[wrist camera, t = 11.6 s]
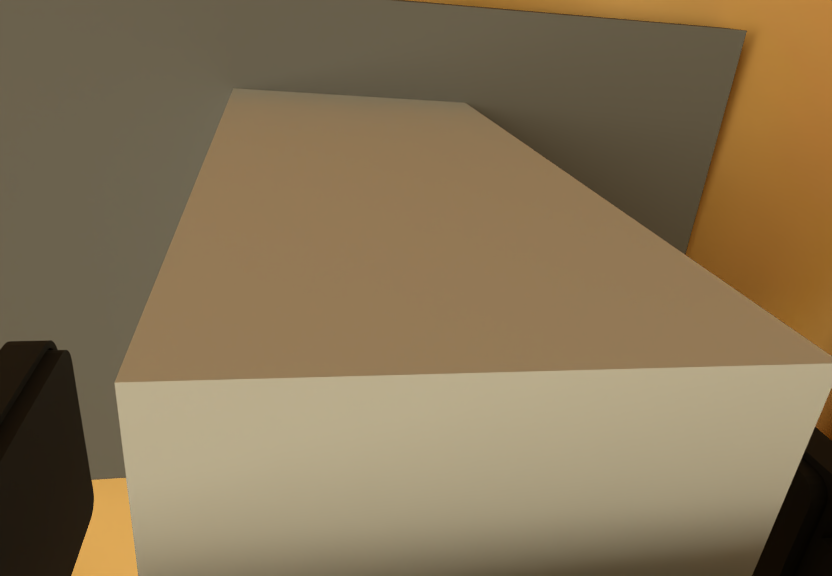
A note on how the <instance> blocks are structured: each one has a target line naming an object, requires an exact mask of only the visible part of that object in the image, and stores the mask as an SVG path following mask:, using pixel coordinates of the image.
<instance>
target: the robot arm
mask: <svg viewBox="0 0 832 576" xmlns="http://www.w3.org/2000/svg"><path fill="white" fill-rule="evenodd" d="M93 503H94V495H93V487H92V481H91V474H90V468H89V462H88V456H87V450H86V444H85V438H84V431H83V425H82V419H81V413H80V407H79V401H78V395H77V388H76V382H75V376H74V370H73V364H72V359H71V355H70V353H69V351H68V350H57V347H56V345H55V343H54V342H53V341H52V340H48V341H9V342H6V343H5V344H4V345H3V347H2V348H1V349H0V576H71V574H72V572H73V569H74V566H75V563H76V560H77V557H78V554H79V551H80V548H81V546H82V543H83V540H84V537H85V534H86V531H87V528H88V525H89V522H90V520H91V516H92V511H93ZM752 576H832V441H831V440H830V439H829V438H828V437H827V436H825V435H824V434H823V433H822V432H821V431H819V430H818V429H817V428H816V427H815V428H814V430H813V433H812V435H811V437H810V440H809V442H808V444H807V447H806V449H805V451H804V454H803V456H802V459H801V461H800V463H799V466H798V468H797V470H796V473H795V475H794V477H793V480H792V482H791V485H790V487H789V489H788V492H787V494H786V496H785V499H784V501H783V503H782V506H781V508H780V511H779V513H778V515H777V518H776V520H775V522H774V525H773V527H772V529H771V532H770V534H769V537H768V539H767V541H766V544H765V546H764V548H763V551H762V553H761V555H760V558H759V560H758V563H757V565H756V567H755V570H754V572H753V574H752Z"/></svg>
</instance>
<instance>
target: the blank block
mask: <svg viewBox="0 0 832 576" xmlns="http://www.w3.org/2000/svg"><path fill="white" fill-rule="evenodd" d="M114 383H115V391H116V399H117V407H118V415H119V423H120V432H121V440H122V448H123V456H124V464H125V472H126V480H127V488H128V496H129V504H130V512H131V520H132V528H133V537H134V545H135V553H136V561H137V569H138V576H752V574H753V572H754V570H755V567H756V565H757V563H758V560H759V558H760V555H761V553H762V551H763V548H764V546H765V544H766V541H767V539H768V537H769V534H770V532H771V529H772V527H773V525H774V522H775V520H776V518H777V515H778V513H779V511H780V508H781V506H782V503H783V501H784V499H785V496H786V494H787V492H788V489H789V487H790V485H791V482H792V480H793V477H794V475H795V473H796V470H797V468H798V466H799V463H800V461H801V459H802V456H803V454H804V451H805V449H806V447H807V444H808V442H809V440H810V437H811V435H812V433H813V430H814V428H815V425H816V423H817V421H818V418H819V416H820V414H821V411H822V409H823V407H824V404H825V402H826V400H827V397H828V395H829V392H830V390H831V388H832V356H831V355H829V354H828V353H826V352H825V351H824V350H822V349H821V348H819V347H818V346H816V345H815V344H813V343H812V342H810V341H809V340H808V339H806V338H805V337H803V336H802V335H800V334H799V333H797V332H796V331H795V330H793V329H792V328H790V327H789V326H787V325H786V324H784V323H783V322H782V321H780V320H779V319H777V318H776V317H774V316H773V315H771V314H770V313H769V312H767V311H766V310H764V309H763V308H761V307H760V306H758V305H757V304H756V303H754V302H753V301H751V300H750V299H748V298H747V297H745V296H744V295H743V294H741V293H740V292H738V291H737V290H735V289H734V288H732V287H731V286H730V285H728V284H727V283H725V282H724V281H722V280H721V279H719V278H718V277H717V276H715V275H714V274H712V273H711V272H709V271H708V270H706V269H705V268H704V267H702V266H701V265H699V264H698V263H696V262H695V261H693V260H692V259H691V258H689V257H688V256H686V255H685V254H683V253H682V252H680V251H679V250H678V249H676V248H675V247H673V246H672V245H670V244H669V243H667V242H666V241H664V240H663V239H662V238H660V237H659V236H657V235H656V234H654V233H653V232H651V231H650V230H649V229H647V228H646V227H644V226H643V225H641V224H640V223H638V222H637V221H636V220H634V219H633V218H631V217H630V216H628V215H627V214H625V213H624V212H623V211H621V210H620V209H618V208H617V207H615V206H614V205H612V204H611V203H610V202H608V201H607V200H605V199H604V198H602V197H601V196H599V195H598V194H597V193H595V192H594V191H592V190H591V189H589V188H588V187H586V186H585V185H584V184H582V183H581V182H579V181H578V180H576V179H575V178H573V177H572V176H571V175H569V174H568V173H566V172H565V171H563V170H562V169H560V168H559V167H558V166H556V165H555V164H553V163H552V162H550V161H549V160H547V159H546V158H545V157H543V156H542V155H540V154H539V153H537V152H536V151H534V150H533V149H532V148H530V147H529V146H527V145H526V144H524V143H523V142H521V141H520V140H518V139H517V138H516V137H514V136H513V135H511V134H510V133H508V132H507V131H505V130H504V129H503V128H501V127H500V126H498V125H497V124H495V123H494V122H492V121H491V120H490V119H488V118H487V117H485V116H484V115H482V114H481V113H479V112H478V111H477V110H475V109H474V108H472V107H471V106H469V105H468V104H466V103H462V102H446V101H430V100H414V99H398V98H382V97H366V96H349V95H333V94H317V93H301V92H285V91H269V90H253V89H237V88H233V90H232V93H231V95H230V98H229V100H228V103H227V105H226V108H225V110H224V113H223V115H222V118H221V120H220V123H219V125H218V128H217V130H216V133H215V135H214V137H213V140H212V142H211V145H210V147H209V150H208V152H207V155H206V157H205V160H204V162H203V165H202V167H201V170H200V172H199V175H198V177H197V180H196V182H195V185H194V187H193V189H192V192H191V194H190V197H189V199H188V202H187V204H186V207H185V209H184V212H183V214H182V217H181V219H180V222H179V224H178V227H177V229H176V232H175V234H174V236H173V239H172V241H171V244H170V246H169V249H168V251H167V254H166V256H165V259H164V261H163V264H162V266H161V269H160V271H159V274H158V276H157V279H156V281H155V283H154V286H153V288H152V291H151V293H150V296H149V298H148V301H147V303H146V306H145V308H144V311H143V313H142V316H141V318H140V321H139V323H138V326H137V328H136V331H135V333H134V335H133V338H132V340H131V343H130V345H129V348H128V350H127V353H126V355H125V358H124V360H123V363H122V365H121V368H120V370H119V373H118V375H117V378H116V380H115V382H114Z"/></svg>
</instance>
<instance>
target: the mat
mask: <svg viewBox="0 0 832 576" xmlns="http://www.w3.org/2000/svg"><path fill="white" fill-rule="evenodd" d="M746 32H747V31H745V30H736V29H728V28H719V27H708V26H696V25H685V24H673V23H661V22H650V21H638V20H626V19H615V18H603V17H591V16H580V15H568V14H556V13H545V12H533V11H521V10H510V9H498V8H486V7H475V6H463V5H451V4H440V3H428V2H416V1H405V0H0V349H1V348H2V347H3V345H4V344H5V343H6V342H9V341H48V340H52V341H53V342H54V343H55V345H56V347H57V350H68V351H69V353H70V355H71V359H72V364H73V370H74V376H75V382H76V388H77V395H78V401H79V407H80V413H81V419H82V425H83V431H84V438H85V444H86V450H87V456H88V462H89V468H90V474H91V480H94V479H110V478H126V472H125V464H124V456H123V448H122V440H121V432H120V423H119V415H118V407H117V399H116V391H115V383H114V382H115V380H116V378H117V375H118V373H119V370H120V368H121V365H122V363H123V360H124V358H125V355H126V353H127V350H128V348H129V345H130V343H131V340H132V338H133V335H134V333H135V331H136V328H137V326H138V323H139V321H140V318H141V316H142V313H143V311H144V308H145V306H146V303H147V301H148V298H149V296H150V293H151V291H152V288H153V286H154V283H155V281H156V279H157V276H158V274H159V271H160V269H161V266H162V264H163V261H164V259H165V256H166V254H167V251H168V249H169V246H170V244H171V241H172V239H173V236H174V234H175V232H176V229H177V227H178V224H179V222H180V219H181V217H182V214H183V212H184V209H185V207H186V204H187V202H188V199H189V197H190V194H191V192H192V189H193V187H194V185H195V182H196V180H197V177H198V175H199V172H200V170H201V167H202V165H203V162H204V160H205V157H206V155H207V152H208V150H209V147H210V145H211V142H212V140H213V137H214V135H215V133H216V130H217V128H218V125H219V123H220V120H221V118H222V115H223V113H224V110H225V108H226V105H227V103H228V100H229V98H230V95H231V93H232V90H233V88H237V89H253V90H269V91H285V92H301V93H317V94H333V95H349V96H366V97H382V98H398V99H414V100H430V101H446V102H462V103H466V104H468V105H469V106H471V107H472V108H474V109H475V110H477V111H478V112H479V113H481V114H482V115H484V116H485V117H487V118H488V119H490V120H491V121H492V122H494V123H495V124H497V125H498V126H500V127H501V128H503V129H504V130H505V131H507V132H508V133H510V134H511V135H513V136H514V137H516V138H517V139H518V140H520V141H521V142H523V143H524V144H526V145H527V146H529V147H530V148H532V149H533V150H534V151H536V152H537V153H539V154H540V155H542V156H543V157H545V158H546V159H547V160H549V161H550V162H552V163H553V164H555V165H556V166H558V167H559V168H560V169H562V170H563V171H565V172H566V173H568V174H569V175H571V176H572V177H573V178H575V179H576V180H578V181H579V182H581V183H582V184H584V185H585V186H586V187H588V188H589V189H591V190H592V191H594V192H595V193H597V194H598V195H599V196H601V197H602V198H604V199H605V200H607V201H608V202H610V203H611V204H612V205H614V206H615V207H617V208H618V209H620V210H621V211H623V212H624V213H625V214H627V215H628V216H630V217H631V218H633V219H634V220H636V221H637V222H638V223H640V224H641V225H643V226H644V227H646V228H647V229H649V230H650V231H651V232H653V233H654V234H656V235H657V236H659V237H660V238H662V239H663V240H664V241H666V242H667V243H669V244H670V245H672V246H673V247H675V248H676V249H678V250H679V251H680V252H682V253H683V254H685V253H686V250H687V246H688V242H689V239H690V235H691V231H692V228H693V224H694V221H695V217H696V213H697V210H698V206H699V202H700V199H701V195H702V192H703V188H704V184H705V181H706V177H707V173H708V170H709V166H710V163H711V159H712V155H713V152H714V148H715V144H716V141H717V137H718V134H719V130H720V126H721V123H722V119H723V115H724V112H725V108H726V104H727V101H728V97H729V94H730V90H731V86H732V83H733V79H734V75H735V72H736V68H737V65H738V61H739V57H740V54H741V50H742V46H743V43H744V39H745V36H746Z"/></svg>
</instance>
